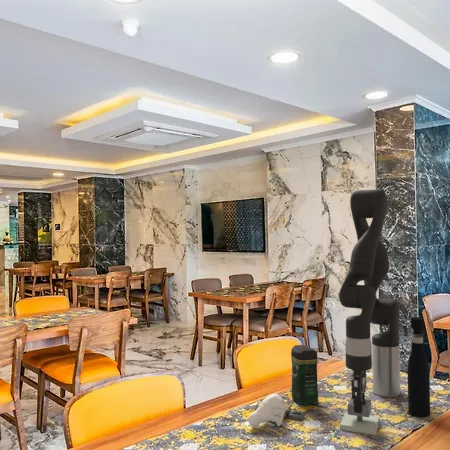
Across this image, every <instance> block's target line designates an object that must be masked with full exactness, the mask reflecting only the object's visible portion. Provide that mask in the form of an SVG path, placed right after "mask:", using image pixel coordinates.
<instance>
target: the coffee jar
mask: <svg viewBox="0 0 450 450" xmlns="http://www.w3.org/2000/svg"><path fill="white" fill-rule="evenodd" d="M290 359H291V398H292V399H293V401H295V402H296V403H297V404H298V405H307V406H311V405H314V404H317V403H319V389H318V388H319V385H318V361H319V359H318V351H317V350H316V349H315V348H312V347H310V346H307V345H306V344H295V345H294V346H292V348H291V351H290Z"/></svg>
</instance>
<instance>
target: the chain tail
mask: <svg viewBox="0 0 450 450" xmlns="http://www.w3.org/2000/svg"><path fill="white" fill-rule="evenodd" d="M284 405H285V407H286V409H285V414H284V417H283V420H287V419H291V420H299V421H303V420H304V418H305V417H306V416H305V412H301V411H294V410H292V408H291V407H292V406H291V405H292V404H291V405H290V404H284Z"/></svg>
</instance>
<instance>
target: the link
mask: <svg viewBox="0 0 450 450" xmlns="http://www.w3.org/2000/svg"><path fill="white" fill-rule="evenodd" d="M347 412H348V415H354V416H362V417H369V416H371V412H372V399H366V398H365V399H362V413H355V412H354V400H353V399H352V397H350V398H349V400H348V403H347Z"/></svg>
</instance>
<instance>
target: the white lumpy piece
mask: <svg viewBox="0 0 450 450" xmlns="http://www.w3.org/2000/svg"><path fill="white" fill-rule="evenodd" d="M285 405H286V404H285V400H284V399H283V398H282V396H281V395H279V394H278V393H271V394H269V395H266V396H265V398H263V400H261V402H260V404H259V406H258V407H257V409H256V411H253V412H252V413H251V414H250V415H249V416H248V419H247V420H248V424H249V425H250V426H251V427H252V429H259V430H260V429H261V428H260V427H262V426H261V424H262V423H265V422H266V423H269V422H272V423H276V425H277V427H280V426H281V425H282V422H283V420H284V419H283V417H284V414H285V409H286V407H285Z"/></svg>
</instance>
